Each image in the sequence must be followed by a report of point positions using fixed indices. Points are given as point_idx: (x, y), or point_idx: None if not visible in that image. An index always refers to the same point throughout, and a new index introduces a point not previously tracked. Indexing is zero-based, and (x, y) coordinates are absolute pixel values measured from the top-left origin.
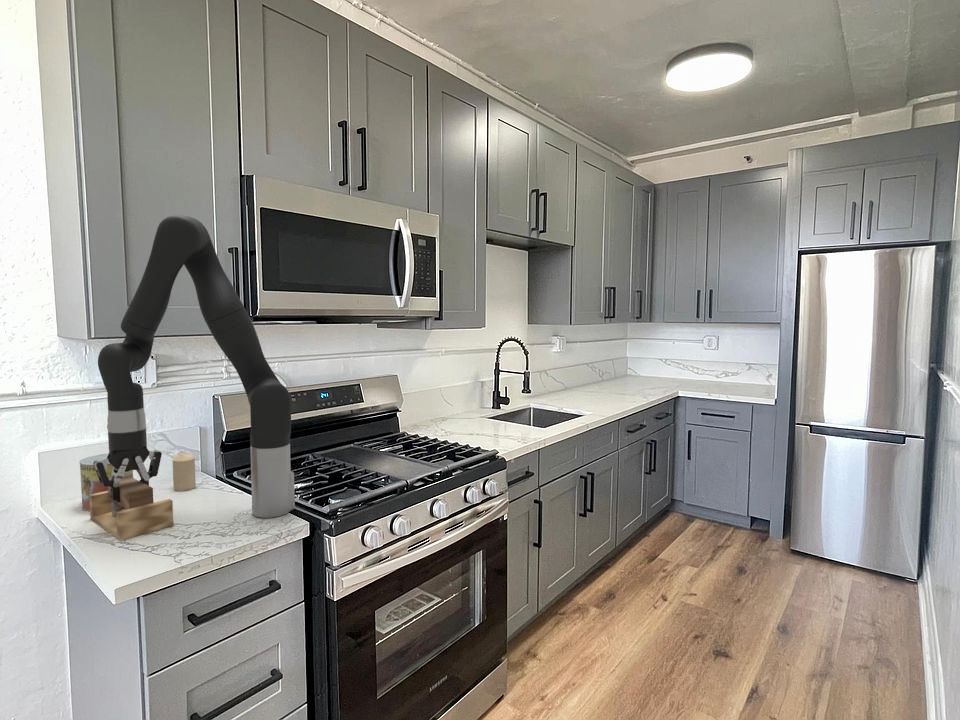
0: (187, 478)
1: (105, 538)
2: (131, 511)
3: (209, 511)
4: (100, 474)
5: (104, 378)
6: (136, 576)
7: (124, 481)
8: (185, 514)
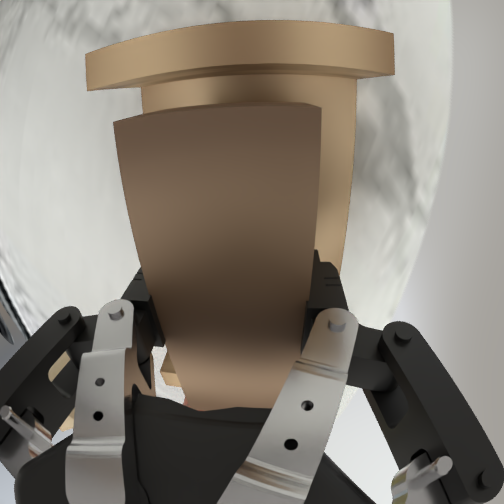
0: (63, 359)
1: (378, 119)
2: (321, 24)
3: (36, 131)
4: (465, 404)
5: None
6: None
7: (233, 385)
8: (88, 152)
